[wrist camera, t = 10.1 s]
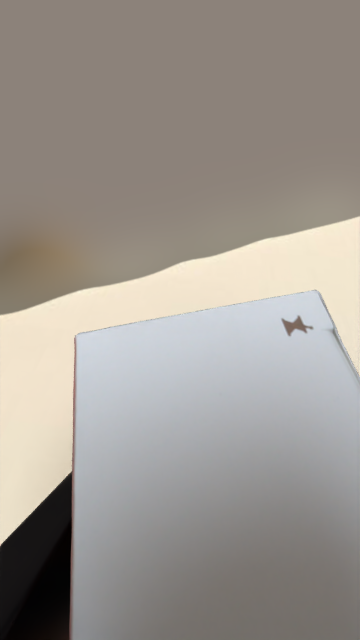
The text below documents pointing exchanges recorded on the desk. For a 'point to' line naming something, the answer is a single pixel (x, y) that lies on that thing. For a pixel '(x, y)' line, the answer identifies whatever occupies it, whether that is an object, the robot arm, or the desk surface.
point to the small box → (217, 477)
